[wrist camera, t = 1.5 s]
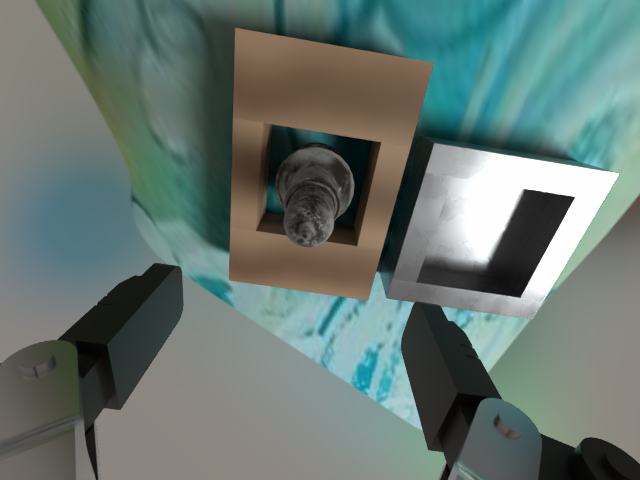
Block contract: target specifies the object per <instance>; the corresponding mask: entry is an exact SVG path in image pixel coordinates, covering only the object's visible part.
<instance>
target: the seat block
mask: <svg viewBox="0 0 640 480" xmlns="http://www.w3.org/2000/svg"><path fill="white" fill-rule="evenodd" d="M618 175H619V174H618V173H615V172H612V171H608V170H605V169H602V168H598V167H595V166H592V165H588V164H585V163H582V162H578V161H573V160H567V159H561V158H555V157H549V156H543V155H537V154H531V153H525V152H519V151H513V150H507V149H501V148H495V147H489V146H483V145H477V144H471V143H465V142H459V141H453V140H447V139H441V138H435V137H429V136H423V135H419V137H418V141H417V144H416V148H415V151H414V155H413V158H412V162H411V166H410V169H409V173H408V176H407V180H406V183H405V187H404V190H403V194H402V197H401V201H400V204H399V208H398V211H397V215H396V218H395V222H394V225H393V229H392V232H391V236H390V239H389V243H388V247H387V250H386V254H385V257H384V261H383V264H382V268H381V271H380V275H381V279H382V283H383V287H384V290H385V294H386V298H388V299H395V300H402V301H409V302H417V301H418V302H425V303H432V304H438V305H440V306H443V307H450V308H457V309H464V310H471V311H478V312H484V313H491V314H498V315H505V316H512V317H519V318H526V319H533V318H534V316H535V314H536V313H537V311H538V309H539V308H540V306H541V304H542V303H543V301H544V299H545V297H546V296H547V294H548V292H549V291H550V289H551V287H552V286H553V284H554V282H555V281H556V279H557V277H558V276H559V274H560V272H561V271H562V269H563V267H564V265H565V264H566V262H567V260H568V259H569V257H570V255H571V254H572V252H573V250H574V249H575V247H576V245H577V244H578V242H579V240H580V239H581V237H582V235H583V234H584V232H585V230H586V228H587V227H588V225H589V223H590V222H591V220H592V218H593V217H594V215H595V213H596V212H597V210H598V208H599V207H600V205H601V203H602V202H603V200H604V198H605V196H606V195H607V193H608V191H609V190H610V188H611V186H612V185H613V183H614V181H615V180H616V178H617V176H618Z"/></svg>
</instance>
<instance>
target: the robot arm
mask: <svg viewBox="0 0 640 480" xmlns="http://www.w3.org/2000/svg"><path fill="white" fill-rule="evenodd" d="M182 311H183V287H182V271H181V268H180V267H179V266H174V265H167V264H160V263H155V264H153V265H152V266H151V267H150V268H149V269H148V270H147V271H146V272H145V273H144V274H143V275H142V276H133V277H131V278H129V279H127V280H125V281H123V282H121V283H119V284H118V285H117V286H116V287H115V288H114V289H112V290H111V291H110V292H109V293H108V295H107V296H105V297H104V298H103V299H101V301H99V302H98V304H97V306H94V307H93V308H92V309H91V310H89V311H88V312H87V313H86V314H85V315H84V316H83V317H82V318H81V319H80V320H79V321H77V322H76V323H75V324H74V325H73V326H72V327H71V328H70V329H68V330H67V331H66V332H65V333H64V334H63V335H62V336H61V337H60V338H59V339H58V340H51V341H44V342H39V343H36V344H33V345H30V346H28V347H26V348H23V349H21V350H19V351H17V352H16V353H14V354H12V355H11V356H10V357H8V358H7V359H6V360H5V361H4V362H3V363H0V480H101V474H100V462H99V450H98V438H97V426H96V421H95V420H96V418H97V417H98V415H99V414H100V413H101V411H102V410H103V408H109V409H116V410H121V408H122V407H123V405H124V404H125V402H126V400H127V399H128V398H129V396H130V394H131V393H132V392H133V390H134V389H135V387H136V385H137V384H138V382H139V381H140V379H141V378H142V376H143V375H144V373H145V372H146V370H147V369H148V367H149V366H150V364H151V363H152V361H153V360H154V358H155V357H156V355H157V354H158V352H159V350H160V349H161V348H162V346H163V344H164V343H165V341H166V340H167V338H168V337H169V335H170V334H171V332H172V331H173V329H174V328H175V326H176V325H177V323H178V321H179V320H180V317H181V315H182ZM401 351H402V355H403V359H404V363H405V366H406V370H407V374H408V377H409V381H410V385H411V388H412V392H413V396H414V399H415V403H416V407H417V410H418V414H419V418H420V421H421V425H422V429H423V432H424V435H425V440H426V443H427V447H428V450H431V451H439V452H444V456H445V459H446V464H445V465H444V467H443V469H442V471H441V474H440V476H439V479H438V480H640V464H639V463H638V462H637V461H636V460H635V459H633V458H632V457H631V456H630V455H628V454H627V453H626V452H624V451H623V450H621V449H620V448H618V447H616V446H615V445H613V444H611V443H609V442H607V441H604V440H602V439H598V438H592V437H591V438H585V439H583V440H582V442H581V443H580V444H579V445H578V446H577V448H574V447H572V446H569V445H567V444H564V443H562V442H559V441H557V440H554V439H552V438H550V437H547V436H545V435H543V434H540V433H539V431H538V429H537V427H536V426H535V424H534V423H533V422H532V420H531V419H530V418H529V417H528V416H527V415H526V414H525V413H524V412H522V411H521V410H520V409H519V408H517V407H515V406H514V405H512V404H510V403H509V402H506V401H504V400H502V398H501V396H500V394H499V393H498V391H497V389H496V387H495V386H494V384H493V382H492V380H491V378H490V376H489V375H488V373H487V371H486V369H485V368H484V366H483V364H482V362H481V360H480V359H478V355H477V353H476V351H475V350H474V348H472V344H471V342H470V341H469V339H468V337H467V335H466V333H465V332H464V331H463V330H462V329H461V328H459V327H458V326H457V325H456V324H455V323H454V322H453V321H448V320H447V318H446V316H445V314H444V312H443V310H442V308H441V306H440V305H438V304H432V303H425V302H418V301H417V302H415V303H414V305H413V307H412V310H411V313H410V315H409V318H408V321H407V324H406V327H405V330H404V332H403V335H402V341H401Z"/></svg>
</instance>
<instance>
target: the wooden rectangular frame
mask: <svg viewBox="0 0 640 480" xmlns="http://www.w3.org/2000/svg"><path fill="white" fill-rule="evenodd" d="M433 64H434V63H432V62H427V61H421V60H415V59H410V58H404V57H398V56H393V55H387V54H381V53H376V52H370V51H364V50H359V49H353V48H347V47H342V46H336V45H330V44H325V43H319V42H313V41H308V40H302V39H296V38H291V37H285V36H279V35H274V34H268V33H262V32H257V31H251V30H245V29H240V28H235V55H234V96H233V137H232V178H231V220H230V261H229V280H230V281H237V282H244V283H251V284H258V285H265V286H272V287H279V288H285V289H292V290H299V291H306V292H313V293H320V294H327V295H334V296H341V297H348V298H355V299H362V300H368V299H369V295H370V292H371V288H372V285H373V281H374V277H375V274H376V270H377V267H378V263H379V259H380V256H381V252H382V248H383V245H384V241H385V238H386V234H387V230H388V227H389V223H390V220H391V216H392V212H393V209H394V205H395V201H396V198H397V194H398V191H399V187H400V183H401V180H402V176H403V173H404V169H405V165H406V162H407V158H408V154H409V151H410V147H411V144H412V140H413V136H414V133H415V129H416V126H417V122H418V118H419V115H420V111H421V107H422V104H423V100H424V97H425V93H426V89H427V86H428V82H429V79H430V75H431V71H432V68H433ZM273 124H274V125H280V126H286V127H292V128H298V129H304V130H310V131H316V132H322V133H328V134H334V135H340V136H346V137H352V138H358V139H365V140H371V141H372V146H371V150H370V155H369V159H368V164H367V168H366V173H365V177H364V182H363V187H362V191H361V196H360V200H359V205H358V209H357V214H356V218H355V223H354V226H352V225H345V224H339V223H334V228H333V231H332V233H331V235H330V236H329V238H328V239H327V240H326V241H325V242H324V243H323V244H320V245H318V246H315V247H302V246H299V245H297V244H295V243H293V242H292V241H291V240H290V239H289V238H288V236H287V235H286V233H285V229H284V225H283V219H284V215H280V214H274V213H267V212H266V203H267V190H268V178H269V165H270V153H271V140H272V127H273Z"/></svg>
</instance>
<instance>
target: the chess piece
mask: <svg viewBox="0 0 640 480" xmlns="http://www.w3.org/2000/svg"><path fill="white" fill-rule="evenodd" d="M275 192H276V195H277V198H278V201H279V203H280V204H281V206H282V208H283V209H284V212H285V215H284V219H283V225H284V229H285V233H286V235H287V236H288V238H289V239H290V240H291V241H292V242H293V243H295V244H297V245H299V246H302V247H315V246H318V245H320V244H323V243H324V242H325V241H326V240H327V239H328V238H329V236H330V235H331V233H332V231H333V228H334V221H335V219H336V218H338V217H339V216H340V215H341V214H343V213H344V212H345V210H346V209H347V208H348V206H349V205H350V203H351V200H352V197H353V195H354V180H353V174H352V172H351V170H350V168H349V166H348V164H347V163H346V162H345V161H344V159H343V157H342V156H341V155H340V154H339V152H338V151H337V150H335V149H333V148H332V147H330V146H328V145H325V144H320V143H312V144H308V145H304V146H303V147H301V148H299V149H297V150H296V151H295V152H294V153H292V154H290V155H289V156H288V157H287V158H286V159H285V160H284V161H283V162H282V164H281V166H280V168H279V169H278V171H277V175H276V179H275Z"/></svg>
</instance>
